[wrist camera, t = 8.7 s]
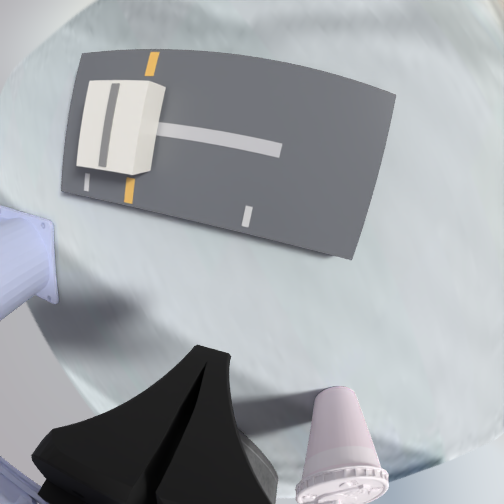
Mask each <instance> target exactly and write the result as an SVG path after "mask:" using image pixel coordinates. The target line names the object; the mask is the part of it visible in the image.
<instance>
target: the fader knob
mask: <svg viewBox="0 0 504 504" xmlns="http://www.w3.org/2000/svg"><path fill="white" fill-rule="evenodd" d="M165 89H166V87H164V86H162V85H159V84H156V83H154V82H151V81H143V80H94V81H89V86H88V90H87V95H86V100H85V106H84V111H83V117H82V124H81V130H80V138H79V145H78V154H77V164H76V166H81V167H88V168H94V169H100V170H106V171H112V172H118V173H124V174H130V175H135V174H139V173H143V172H148V171H150V170H151V164H152V157H153V151H154V145H155V139H156V133H157V128H158V123H159V117H160V112H161V107H162V103H163V98H164V93H165Z"/></svg>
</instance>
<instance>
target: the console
mask: <svg viewBox="0 0 504 504" xmlns="http://www.w3.org/2000/svg"><path fill="white" fill-rule="evenodd" d="M94 80H143V81H151V82H154V83H156V84H159V85H162V86H164V87H166V89H165V93H164V98H163V103H162V107H161V112H160V117H159V123H158V128H157V133H156V139H155V145H154V151H153V157H152V164H151V170H150V171H148V172H143V173H139V174H135V175H130V174H124V173H118V172H112V171H106V170H100V169H94V168H88V167H81V166H76V164H77V154H78V145H79V138H80V130H81V124H82V117H83V111H84V106H85V100H86V95H87V90H88V86H89V81H94ZM395 98H396V95H395V94H393V93H390V92H387V91H385V90H382V89H379V88H376V87H373V86H371V85H368V84H365V83H362V82H358V81H355V80H352V79H349V78H346V77H342V76H339V75H335V74H332V73H328V72H324V71H320V70H316V69H312V68H308V67H304V66H300V65H295V64H290V63H285V62H280V61H275V60H270V59H264V58H258V57H251V56H244V55H237V54H228V53H219V52H208V51H194V50H173V49H136V50H115V51H101V52H91V53H82V56H81V59H80V63H79V67H78V72H77V76H76V80H75V85H74V90H73V95H72V100H71V105H70V111H69V117H68V124H67V131H66V139H65V147H64V157H63V169H62V184H61V191H62V192H67V193H72V194H76V195H81V196H85V197H90V198H94V199H99V200H104V201H108V202H113V203H117V204H121V205H126V206H130V207H135V208H139V209H144V210H148V211H152V212H157V213H161V214H165V215H170V216H174V217H178V218H183V219H187V220H191V221H195V222H200V223H204V224H208V225H212V226H216V227H221V228H225V229H229V230H233V231H237V232H241V233H245V234H249V235H254V236H258V237H262V238H266V239H270V240H274V241H278V242H282V243H286V244H290V245H294V246H298V247H302V248H306V249H310V250H314V251H318V252H322V253H326V254H330V255H333V256H337V257H341V258H345V259H349V260H352V258H353V255H354V252H355V249H356V246H357V243H358V240H359V237H360V234H361V231H362V228H363V225H364V221H365V218H366V215H367V212H368V208H369V205H370V201H371V198H372V195H373V191H374V187H375V184H376V180H377V176H378V173H379V169H380V165H381V161H382V157H383V153H384V149H385V145H386V141H387V136H388V132H389V127H390V123H391V118H392V113H393V108H394V103H395Z"/></svg>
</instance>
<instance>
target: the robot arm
mask: <svg viewBox="0 0 504 504" xmlns="http://www.w3.org/2000/svg"><path fill="white" fill-rule="evenodd" d="M44 224H45V225H44ZM34 295H36V296H38V297H40V298H42V299H44V300H46V301H49V302H51V303H53V304H57V303H58V302H59V297H58V288H57V278H56V267H55V252H54V226H53V223H52V221H51V220H48V219H45V218H41V217H38V216H35V215H31V214H28V213H25V212H21V211H18V210H15V209H12V208H8V207H5V206H2V205H0V320H2V319H3V318H5V317H6V316H7V315H8V314H10V313H11V312H12V311H14V310H15V309H16V308H18V307H19V306H20V305H22V304H23V303H24V302H26V301H27V300H29V299H30V298H31V297H33V296H34ZM230 359H231V356H230V354H229V353H226V352H222V351H218V350H215V349H211V348H207V347H204V346H200V345H196V346H194V347H193V349H192V350H191V351H190V352H189V353H188V354H187V355H186V356H185V357H184V358H183V359H182V360H181V361H180V362H179V363H178V364H177V365H176V366H175V367H174V368H173V369H172V370H170V371H169V372H168V373H167V374H166V375H165V376H164V377H162V378H161V379H160V380H158V381H157V382H156V383H154V384H153V385H152V386H150V387H149V388H148V389H146V390H145V391H143V392H142V393H140V394H139V395H137V396H136V397H134V398H132V399H131V400H129V401H127V402H125V403H123V404H122V405H120V406H118V407H116V408H114V409H112V410H110V411H107V412H105V413H103V414H100V415H98V416H95V417H93V418H90V419H87V420H85V421H82V422H78V423H75V424H71V425H68V426H64V427H59V428H55V429H52V430H51V431H50V432H49V434H48V435H46V436H45V438H44V439H43V440H42V441H41V443H40V444H39V445H38V447H37V448H36V450H35V451H34V453H33V454H32V461H33V462H34V464H35V465H36V467H37V468H38V469H39V470H40V472H41V473H42V474H43V475H44V477H45V478H46V481H45V482H44V484H43V485H42V487H41V486H40V485H38V484H37V483H35V482H34V481H32V480H31V479H30V478H28V477H27V476H25V475H24V474H23V473H21V472H20V471H19V470H17V469H16V468H15V467H13V466H12V465H11V464H10V463H8V462H7V461H6V460H5V459H3V458H2V457H1V456H0V504H37V502H38V503H39V504H272V503H271V501H270V500H269V498H268V496H267V495H266V493H265V491H264V490H263V488H262V486H261V485H260V483H259V481H258V479H257V477H256V475H255V473H254V471H253V469H252V466H251V464H250V462H249V460H248V457H247V455H246V452H245V450H244V447H243V444H242V442H241V439H240V435H239V432H238V429H237V425H236V421H235V417H234V412H233V407H232V401H231V393H230V384H229V365H230Z"/></svg>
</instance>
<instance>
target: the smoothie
mask: <svg viewBox="0 0 504 504" xmlns="http://www.w3.org/2000/svg"><path fill="white" fill-rule="evenodd" d="M388 476H389V474H388V473H387V471H386V470H384V469H382V468H381V465H380V462H379V459H378V456H377V453H376V450H375V447H374V444H373V441H372V438H371V435H370V433H369V430H368V427H367V424H366V421H365V418H364V415H363V413H362V410H361V407H360V404H359V402H358V399H357V396H356V394H355V392H354V391H353V390H352V389H350V388H348V387H343V386H336V387H331V388H327V389H325V390H323V391H322V392H320V393H319V394H318V395H317V396H316V398H315V401H314V408H313V415H312V422H311V429H310V435H309V441H308V447H307V453H306V459H305V464H304V469H303V475H302V480H301V481H300V482H299V483H298V484H297V485H296V489H295V490H296V501H297V502H298V503H299V504H367V503H369V502H371V501H373V500H376V499H377V498H379V497H380V496H382V495H383V494H384V493H385V492H386V491H387V490H388V488H389V482H388Z"/></svg>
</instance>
